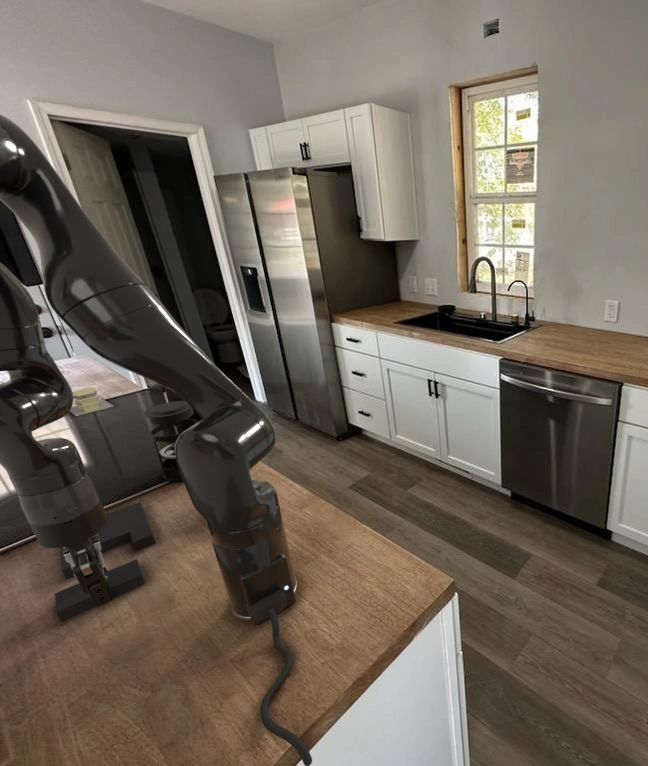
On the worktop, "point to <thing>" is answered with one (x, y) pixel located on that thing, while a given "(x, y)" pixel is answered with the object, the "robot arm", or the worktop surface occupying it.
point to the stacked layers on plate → (87, 402)
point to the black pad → (77, 601)
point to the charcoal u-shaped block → (120, 532)
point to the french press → (168, 419)
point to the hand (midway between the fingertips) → (102, 590)
